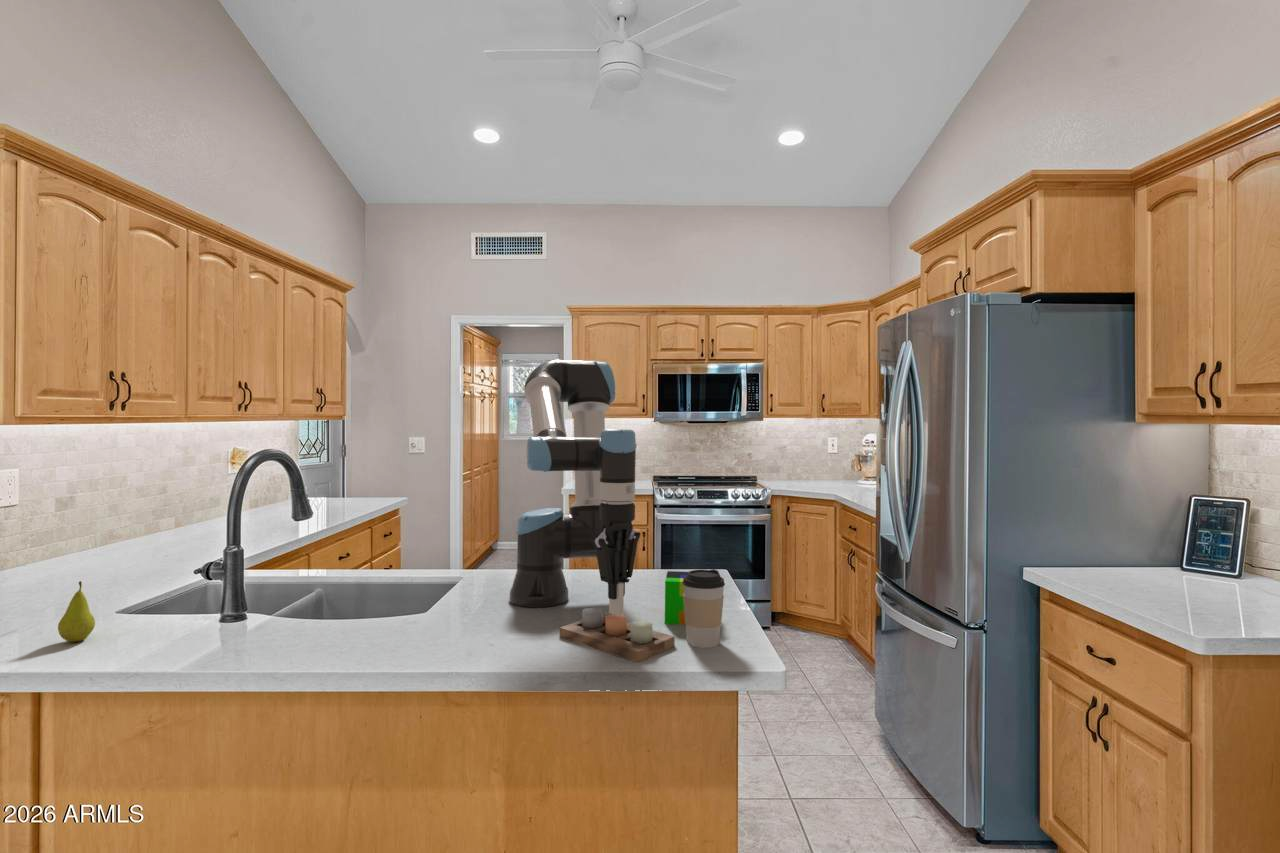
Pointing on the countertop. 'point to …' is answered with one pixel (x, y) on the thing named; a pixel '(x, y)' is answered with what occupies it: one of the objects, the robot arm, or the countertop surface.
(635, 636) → the button sage
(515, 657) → the countertop surface
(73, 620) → the fruit
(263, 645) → the countertop surface
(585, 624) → the button grey
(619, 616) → the button terracotta
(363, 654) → the countertop surface
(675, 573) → the puzzle toy
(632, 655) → the button board
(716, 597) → the coffee cup
